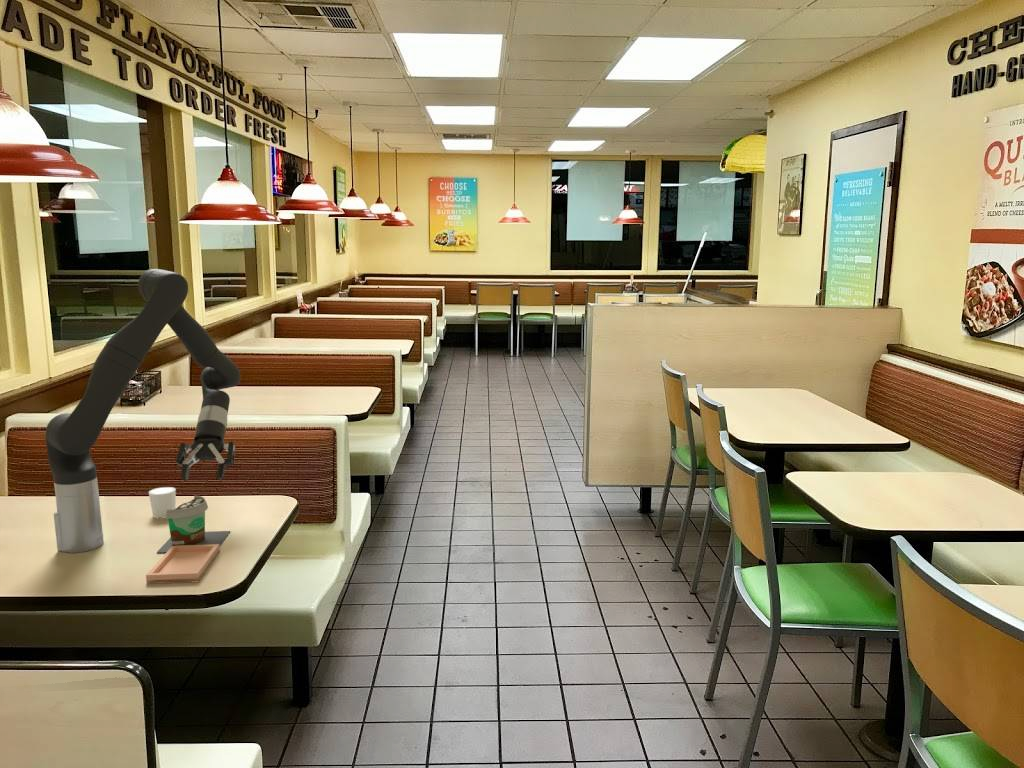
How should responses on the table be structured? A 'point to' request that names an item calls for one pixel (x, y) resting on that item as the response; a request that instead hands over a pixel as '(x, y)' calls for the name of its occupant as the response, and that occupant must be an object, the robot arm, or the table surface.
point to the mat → (210, 538)
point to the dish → (183, 564)
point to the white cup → (162, 500)
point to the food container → (188, 522)
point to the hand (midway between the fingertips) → (202, 479)
